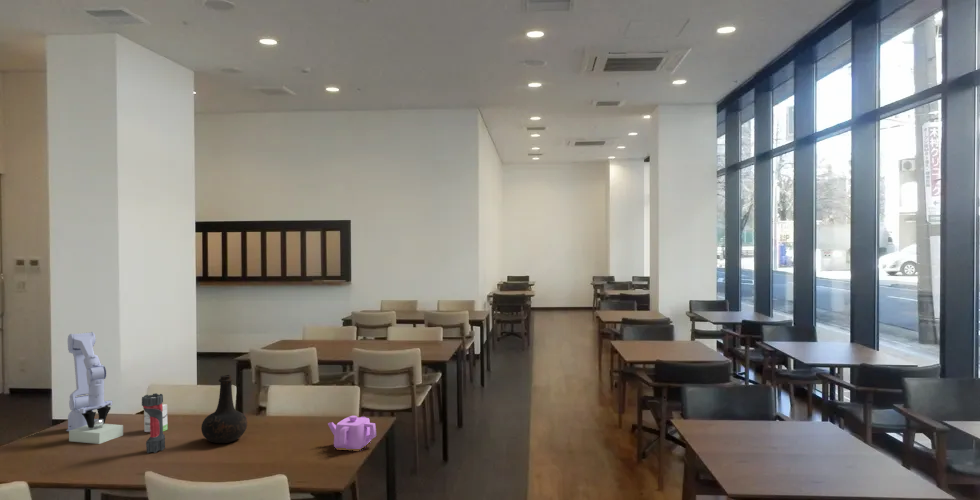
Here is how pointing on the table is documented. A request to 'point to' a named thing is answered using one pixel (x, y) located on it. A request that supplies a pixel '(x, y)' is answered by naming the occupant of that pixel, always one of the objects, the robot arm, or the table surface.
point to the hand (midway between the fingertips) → (96, 425)
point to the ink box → (147, 419)
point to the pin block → (96, 433)
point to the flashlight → (154, 422)
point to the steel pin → (98, 423)
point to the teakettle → (353, 432)
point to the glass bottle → (224, 417)
